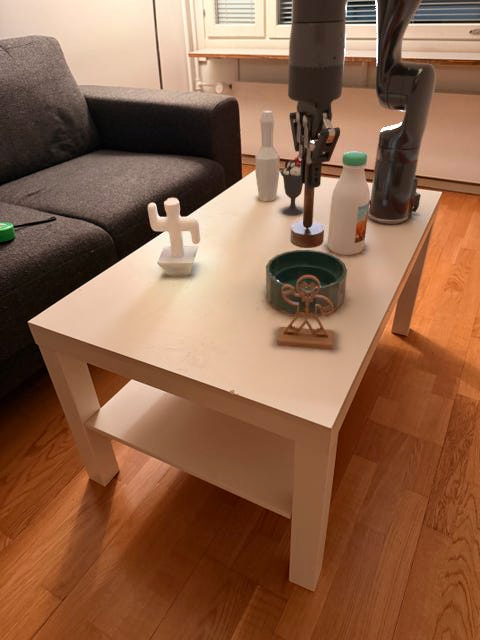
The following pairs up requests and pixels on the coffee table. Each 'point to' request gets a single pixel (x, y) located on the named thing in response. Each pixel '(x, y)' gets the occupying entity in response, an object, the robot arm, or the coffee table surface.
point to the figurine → (175, 237)
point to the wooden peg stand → (307, 223)
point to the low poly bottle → (267, 161)
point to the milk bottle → (349, 206)
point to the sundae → (292, 184)
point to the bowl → (305, 263)
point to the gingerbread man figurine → (303, 335)
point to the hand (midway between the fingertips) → (309, 184)
